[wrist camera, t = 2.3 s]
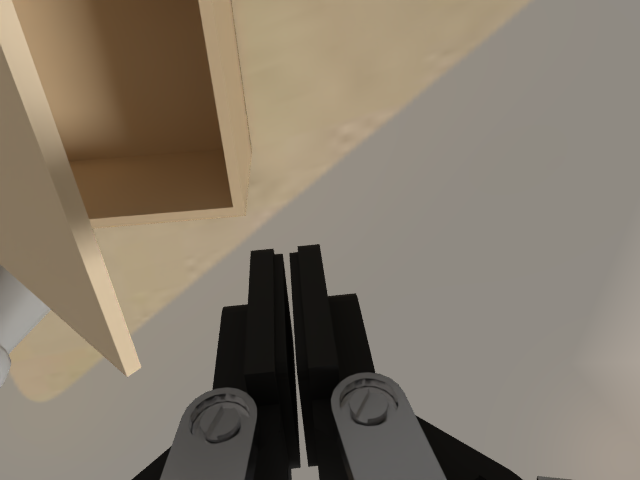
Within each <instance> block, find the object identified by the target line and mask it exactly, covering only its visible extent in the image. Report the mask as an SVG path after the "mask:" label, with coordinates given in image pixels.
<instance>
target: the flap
mask: <svg viewBox="0 0 640 480" xmlns="http://www.w3.org/2000/svg"><path fill="white" fill-rule="evenodd" d="M0 265H1V266H2V267H4V268H5V269H6V270H7V271H8V272H9V273H10V274H12V275H13V276H14V277H15V278H16V279H17V280H18V281H19V282H21V283H22V284H23V285H24V286H25V287H26V288H27V289H28V290H30V291H31V292H32V293H33V294H34V295H35V296H36V297H37V298H39V299H40V300H41V301H42V302H43V303H44V304H45V305H47V306H48V307H49V308H50V309H51V310H52V311H53V312H54V313H56V314H57V315H58V316H59V317H60V318H61V319H62V320H63V321H65V322H66V323H67V324H68V325H69V326H70V327H71V328H72V329H74V330H75V331H76V332H77V333H78V334H79V335H80V336H82V337H83V338H84V339H85V340H86V341H87V342H88V343H89V344H91V345H92V346H93V347H94V348H95V349H96V350H97V351H98V352H100V353H101V354H102V355H103V356H104V357H105V358H106V359H107V360H109V361H110V362H111V363H112V364H113V365H114V366H115V367H117V368H118V369H119V370H120V371H121V372H122V373H123V374H124V375H126V376H127V377H128V376H130V375H131V374H133V373H134V372H136V371H137V370H138V369H140V368H141V365H140V362H139V359H138V356H137V354H136V351H135V348H134V345H133V342H132V339H131V336H130V334H129V331H128V328H127V325H126V322H125V319H124V317H123V314H122V311H121V308H120V305H119V302H118V300H117V297H116V294H115V291H114V288H113V285H112V283H111V280H110V277H109V274H108V271H107V268H106V266H105V263H104V260H103V257H102V254H101V251H100V249H99V246H98V243H97V240H96V237H95V235H94V232H93V229H92V226H91V223H90V220H89V218H88V215H87V212H86V209H85V206H84V203H83V201H82V198H81V195H80V192H79V189H78V186H77V184H76V181H75V178H74V175H73V172H72V169H71V167H70V164H69V161H68V158H67V155H66V152H65V150H64V147H63V144H62V141H61V138H60V136H59V133H58V130H57V127H56V124H55V121H54V119H53V116H52V113H51V110H50V107H49V104H48V102H47V99H46V96H45V93H44V90H43V87H42V85H41V82H40V79H39V76H38V73H37V70H36V68H35V65H34V62H33V59H32V56H31V53H30V51H29V48H28V45H27V42H26V39H25V36H24V34H23V31H22V28H21V25H20V22H19V20H18V17H17V14H16V11H15V8H14V5H13V3H12V0H0Z"/></svg>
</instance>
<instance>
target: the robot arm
mask: <svg viewBox="0 0 640 480" xmlns="http://www.w3.org/2000/svg"><path fill="white" fill-rule="evenodd" d="M250 258H251V259H250V276H249V294H248V304H247V305H237V306H228V307H223V310H222V316H221V324H220V333H219V341H218V349H217V357H216V367H215V374H214V382H213V390H212V391H208V392H206V393H204V394H202V395H201V396H199V397H198V398H196V399H195V400H194V401H193V402H192V403H191V404H190V405H189V406H188V407H187V409H186V410H185V412H184V414H183V416H182V418H181V421H180V424H179V427H178V430H177V432H176V435H175V438H174V441H173V444H172V446H171V447H170V448H169V449H167V450H166V451H165V452H164V453H163V454H162V455H160V456H159V457H158V458H157V459H156V460H155V461H153V462H152V463H151V464H150V465H149V466H147V467H146V468H145V469H144V470H143V471H141V472H140V473H139V474H138V475H137V476H136V477H134V478H133V479H132V480H292V477H291V469H293V468H300V450H299V431H298V414H297V398H296V380H295V363H294V347H293V336H292V327H291V319H290V311H289V302H288V294H287V286H286V277H285V269H284V261H283V254H275V255H274V250H273V249H266V250H256V251H251V257H250ZM290 269H291V285H292V302H293V317H294V334H295V350H296V364H297V375H298V384H299V392H300V401H301V409H302V417H303V426H304V434H305V443H306V451H307V459H308V466H309V467H310V466H318V470H319V479H320V480H522V479H521V478H520V477H519V476H517V475H516V474H515V473H513V472H512V471H511V470H509V469H507V468H506V467H504V466H502V465H501V464H499V463H497V462H495V461H494V460H492V459H490V458H488V457H487V456H485V455H483V454H482V453H480V452H478V451H476V450H474V449H473V448H471V447H469V446H468V445H466V444H464V443H462V442H461V441H459V440H457V439H456V438H454V437H452V436H450V435H449V434H447V433H445V432H443V431H442V430H440V429H438V428H437V427H435V426H433V425H431V424H430V423H428V422H426V421H424V420H423V419H421V418H419V417H417V416H416V415H415V414H414V412H413V410H412V408H411V405H410V403H409V401H408V400H407V397H406V395H405V393H404V392H403V390H402V389H401V387H400V386H399V385H398V384H397V383H396V382H395V381H393V380H392V379H390V378H389V377H386V376H383V375H381V374H377V373H375V369H374V365H373V361H372V357H371V352H370V348H369V344H368V340H367V336H366V331H365V327H364V323H363V319H362V315H361V310H360V306H359V302H358V298H357V295H356V294H345V295H336V296H328V295H327V289H326V283H325V276H324V270H323V263H322V257H321V251H320V245H319V244H317V245H307V246H298V252H295V253H290ZM537 480H570V479H560V478H550V477H541V476H537Z"/></svg>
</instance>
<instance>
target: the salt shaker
mask: <svg viewBox="0 0 640 480" xmlns="http://www.w3.org/2000/svg"><path fill="white" fill-rule="evenodd" d="M50 310H51V309H50V308H49V307H48V306H47V305H45V304H44V303H43V302H42V301H41V300H40V299H39V298H37V297H36V296H35V295H34V294H33V293H32V292H31V291H30V290H28V289H27V288H26V287H25V286H24V285H23V284H22V283H21V282H19V281H18V280H17V279H16V278H15V277H14V276H13V275H12V274H10V273H9V272H8V271H7V270H6V269H5V268H4V267H2V266H1V265H0V387H1V386H2V385H3V383H4V381H5V380H6V377H7V375H8V372H9V369H10V366H11V359H10V357H9V355H8V354H9V353H10V352H11V351H12V350H13V349H14V348H15V347H16V346H17V345H18V344H19V342H20V341H21V340H22V339H23V338H24V337H25V336H26V335H27V334H28V333H29V332H30V331H31V330H32V329H33V328H34V327H35V326H36V325H37V324H38V323H39V322H40V321H41V320H42V318H43V317H44V316H45V315H46V314H47V313H48V312H49V311H50Z"/></svg>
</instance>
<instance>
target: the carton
mask: <svg viewBox="0 0 640 480" xmlns="http://www.w3.org/2000/svg"><path fill="white" fill-rule="evenodd" d="M12 3H13V5H14V8H15V11H16V14H17V17H18V20H19V22H20V25H21V28H22V31H23V34H24V36H25V39H26V42H27V45H28V48H29V51H30V53H31V56H32V59H33V62H34V65H35V68H36V70H37V73H38V76H39V79H40V82H41V85H42V87H43V90H44V93H45V96H46V99H47V102H48V104H49V107H50V110H51V113H52V116H53V119H54V121H55V124H56V127H57V130H58V133H59V136H60V138H61V141H62V144H63V147H64V150H65V152H66V155H67V158H68V161H69V164H70V167H71V169H72V172H73V175H74V178H75V181H76V184H77V186H78V189H79V192H80V195H81V198H82V201H83V203H84V206H85V209H86V212H87V215H88V218H89V220H90V223H91V226H92V229H93V228H105V227H117V226H129V225H141V224H153V223H165V222H177V221H189V220H201V219H213V218H225V217H237V216H246V206H247V195H248V185H249V175H250V165H251V154H252V150H251V143H250V135H249V128H248V121H247V113H246V106H245V99H244V91H243V84H242V77H241V69H240V62H239V55H238V47H237V40H236V33H235V25H234V18H233V11H232V3H231V0H12Z"/></svg>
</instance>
